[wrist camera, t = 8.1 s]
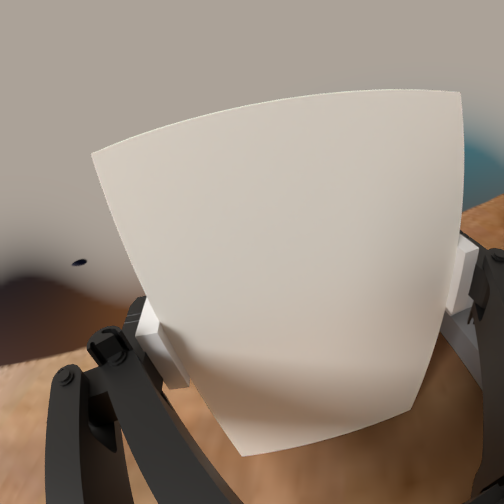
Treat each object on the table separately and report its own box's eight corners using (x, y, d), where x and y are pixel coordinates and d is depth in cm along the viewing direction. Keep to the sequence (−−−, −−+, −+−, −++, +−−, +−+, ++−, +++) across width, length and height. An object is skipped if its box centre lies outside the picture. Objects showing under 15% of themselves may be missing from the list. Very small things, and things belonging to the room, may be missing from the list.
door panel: (384, 360, 17) (389, 89, 10) (410, 409, 13) (460, 92, 6) (236, 398, 17) (137, 135, 10) (242, 456, 14) (90, 153, 6)
